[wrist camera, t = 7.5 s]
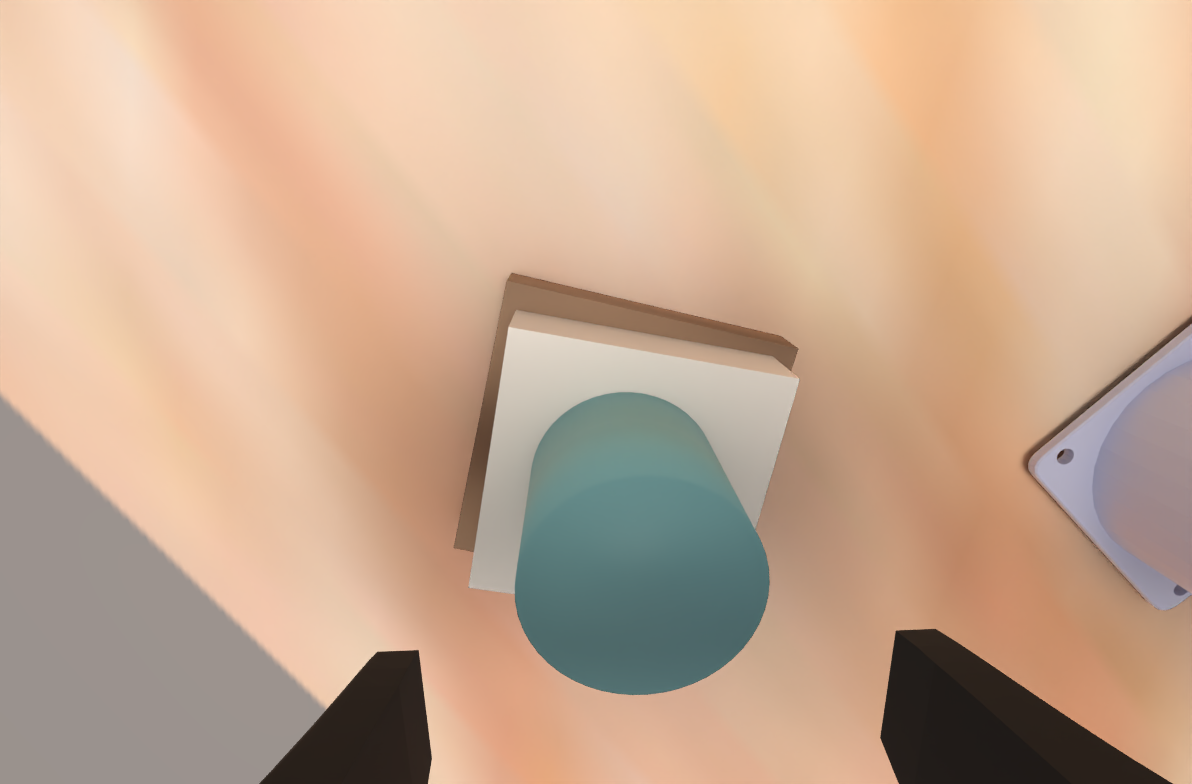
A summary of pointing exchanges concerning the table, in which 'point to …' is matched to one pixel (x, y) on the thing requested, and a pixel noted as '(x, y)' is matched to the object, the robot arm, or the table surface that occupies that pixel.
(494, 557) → the off-white slab
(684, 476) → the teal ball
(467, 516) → the walnut slab
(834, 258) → the table surface
